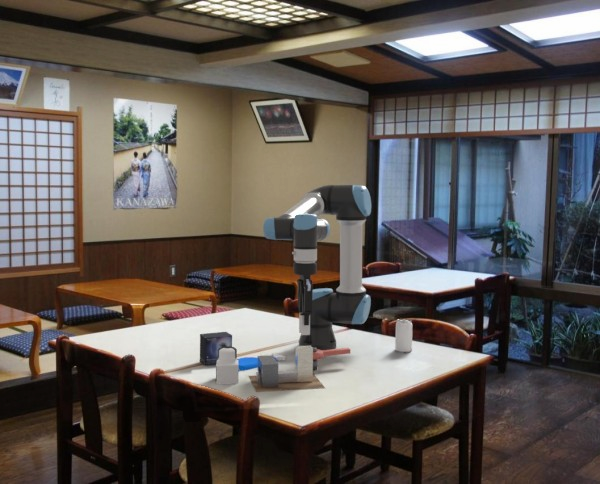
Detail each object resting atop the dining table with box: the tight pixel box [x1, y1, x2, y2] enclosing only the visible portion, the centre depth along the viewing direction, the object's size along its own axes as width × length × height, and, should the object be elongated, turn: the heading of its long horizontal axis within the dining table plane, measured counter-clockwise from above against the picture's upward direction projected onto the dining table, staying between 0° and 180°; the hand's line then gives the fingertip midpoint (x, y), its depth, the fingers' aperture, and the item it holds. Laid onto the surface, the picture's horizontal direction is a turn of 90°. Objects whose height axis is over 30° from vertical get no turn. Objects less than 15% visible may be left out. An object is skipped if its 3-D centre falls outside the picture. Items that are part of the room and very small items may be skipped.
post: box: [313, 360, 318, 372], centre depth 238 cm, size 3×3×5 cm
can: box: [394, 318, 413, 353], centre depth 270 cm, size 6×6×12 cm
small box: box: [199, 331, 233, 366], centre depth 250 cm, size 11×6×10 cm, turn 117°
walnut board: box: [248, 372, 326, 393], centre depth 223 cm, size 18×22×1 cm
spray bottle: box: [237, 353, 287, 371], centre depth 248 cm, size 3×11×24 cm
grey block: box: [257, 354, 279, 388], centre depth 222 cm, size 11×5×8 cm, turn 12°
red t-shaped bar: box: [312, 347, 351, 361], centre depth 240 cm, size 18×7×3 cm, turn 113°
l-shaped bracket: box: [255, 345, 314, 384], centre depth 223 cm, size 4×18×11 cm, turn 102°
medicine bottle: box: [215, 346, 239, 385], centre depth 224 cm, size 7×7×12 cm
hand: (304, 333), depth 223 cm, fingers open, 3 cm apart
